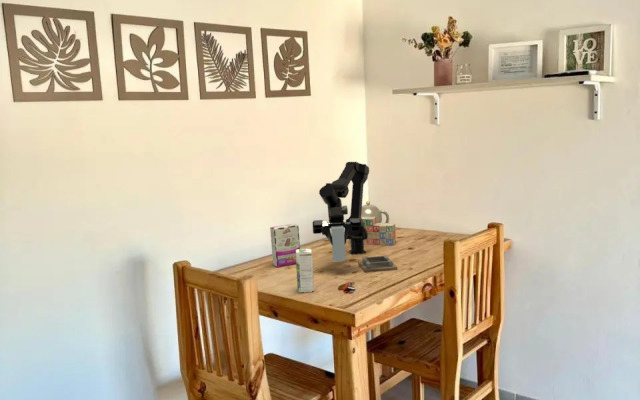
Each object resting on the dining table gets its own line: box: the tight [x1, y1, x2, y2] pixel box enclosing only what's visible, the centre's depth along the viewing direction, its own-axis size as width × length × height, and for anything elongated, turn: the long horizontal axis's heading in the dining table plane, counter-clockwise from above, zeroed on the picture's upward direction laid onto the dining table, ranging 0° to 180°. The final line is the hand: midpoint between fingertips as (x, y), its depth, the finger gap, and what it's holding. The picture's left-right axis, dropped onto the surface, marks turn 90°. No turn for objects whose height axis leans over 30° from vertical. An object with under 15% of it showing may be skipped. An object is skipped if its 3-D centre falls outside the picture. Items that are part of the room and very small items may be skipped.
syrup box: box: [295, 248, 315, 294], centre depth 206 cm, size 6×6×14 cm
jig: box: [357, 255, 398, 273], centre depth 233 cm, size 13×13×3 cm
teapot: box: [361, 200, 390, 223], centre depth 296 cm, size 18×14×16 cm
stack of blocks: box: [348, 217, 397, 246], centre depth 273 cm, size 21×6×12 cm, turn 70°
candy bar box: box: [269, 223, 301, 268], centre depth 243 cm, size 11×5×16 cm, turn 117°
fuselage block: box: [330, 226, 346, 263], centre depth 224 cm, size 4×4×13 cm
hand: (338, 244), depth 223 cm, fingers closed on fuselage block, 4 cm apart
